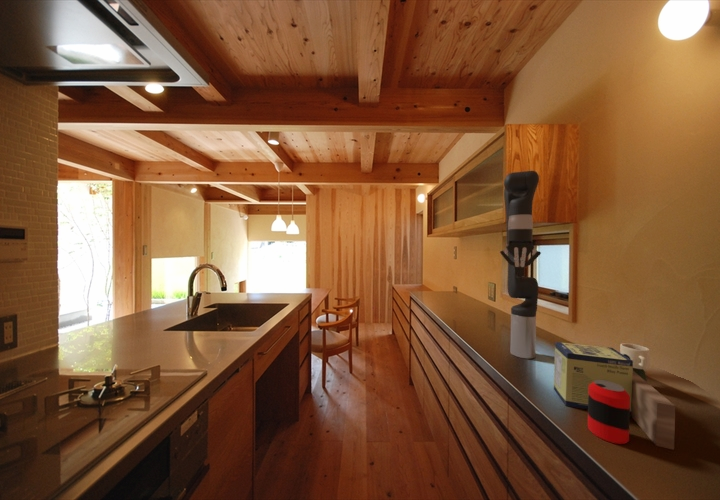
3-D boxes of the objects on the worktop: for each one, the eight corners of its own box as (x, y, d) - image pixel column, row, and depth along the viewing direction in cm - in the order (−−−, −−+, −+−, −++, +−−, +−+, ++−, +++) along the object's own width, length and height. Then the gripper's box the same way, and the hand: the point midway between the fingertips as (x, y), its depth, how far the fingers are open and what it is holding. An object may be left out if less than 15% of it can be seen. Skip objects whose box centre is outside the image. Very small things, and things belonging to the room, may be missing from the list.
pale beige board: (611, 393, 88) (611, 361, 88) (623, 395, 87) (624, 363, 87) (656, 445, 64) (657, 402, 64) (674, 449, 63) (675, 405, 63)
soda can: (579, 424, 72) (580, 378, 72) (607, 423, 72) (608, 377, 72) (607, 445, 64) (609, 393, 64) (638, 444, 65) (639, 393, 65)
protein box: (633, 417, 75) (634, 360, 75) (565, 406, 80) (566, 352, 80) (611, 398, 85) (613, 347, 85) (552, 389, 90) (553, 341, 90)
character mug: (612, 376, 100) (613, 340, 100) (638, 380, 97) (638, 343, 97) (629, 391, 90) (630, 350, 89) (658, 395, 87) (659, 354, 87)
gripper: (540, 229, 99) (539, 277, 99) (498, 229, 105) (497, 275, 105) (544, 227, 92) (543, 279, 92) (499, 228, 98) (498, 277, 98)
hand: (519, 277), depth 99 cm, fingers closed
